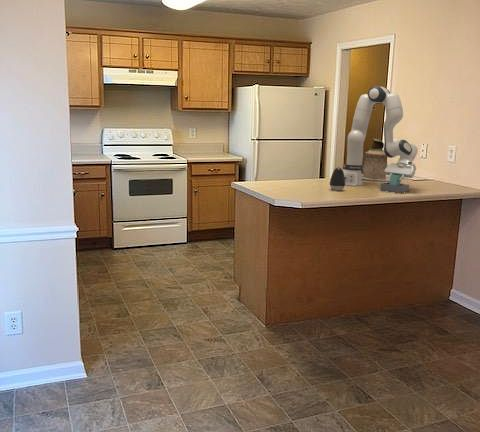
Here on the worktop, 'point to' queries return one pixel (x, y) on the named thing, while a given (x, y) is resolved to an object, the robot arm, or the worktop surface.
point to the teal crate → (395, 180)
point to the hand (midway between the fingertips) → (394, 180)
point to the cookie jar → (375, 162)
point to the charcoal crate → (394, 188)
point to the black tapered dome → (337, 180)
